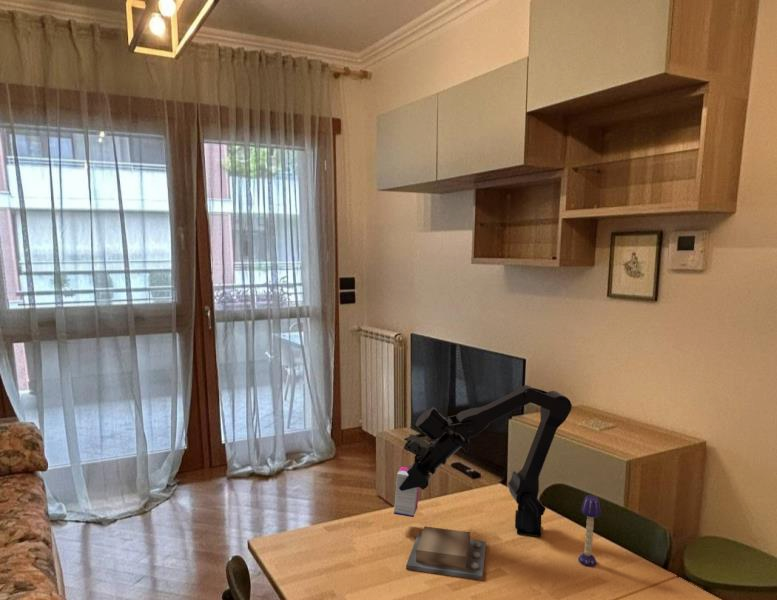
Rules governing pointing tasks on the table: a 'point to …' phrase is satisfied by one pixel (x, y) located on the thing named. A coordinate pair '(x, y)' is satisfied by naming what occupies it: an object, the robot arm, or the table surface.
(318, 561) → the table surface
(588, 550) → the toy lamp
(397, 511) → the supplement box
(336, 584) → the table surface
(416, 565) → the walnut brick base
